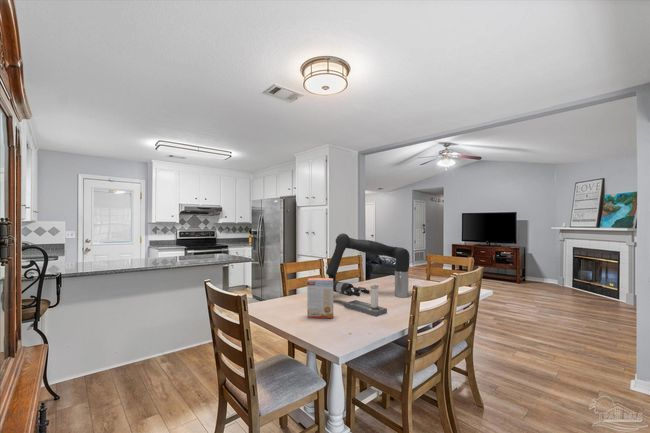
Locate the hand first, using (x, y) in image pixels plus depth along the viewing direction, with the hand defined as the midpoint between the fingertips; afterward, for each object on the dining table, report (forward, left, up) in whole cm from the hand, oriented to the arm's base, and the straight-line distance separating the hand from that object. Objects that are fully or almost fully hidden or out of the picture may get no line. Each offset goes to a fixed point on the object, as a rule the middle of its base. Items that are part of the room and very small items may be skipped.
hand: (364, 293), depth 186 cm
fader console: (0, 0, -9) cm, 10 cm away
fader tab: (+4, +6, -7) cm, 10 cm away
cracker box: (+18, -22, -10) cm, 30 cm away
